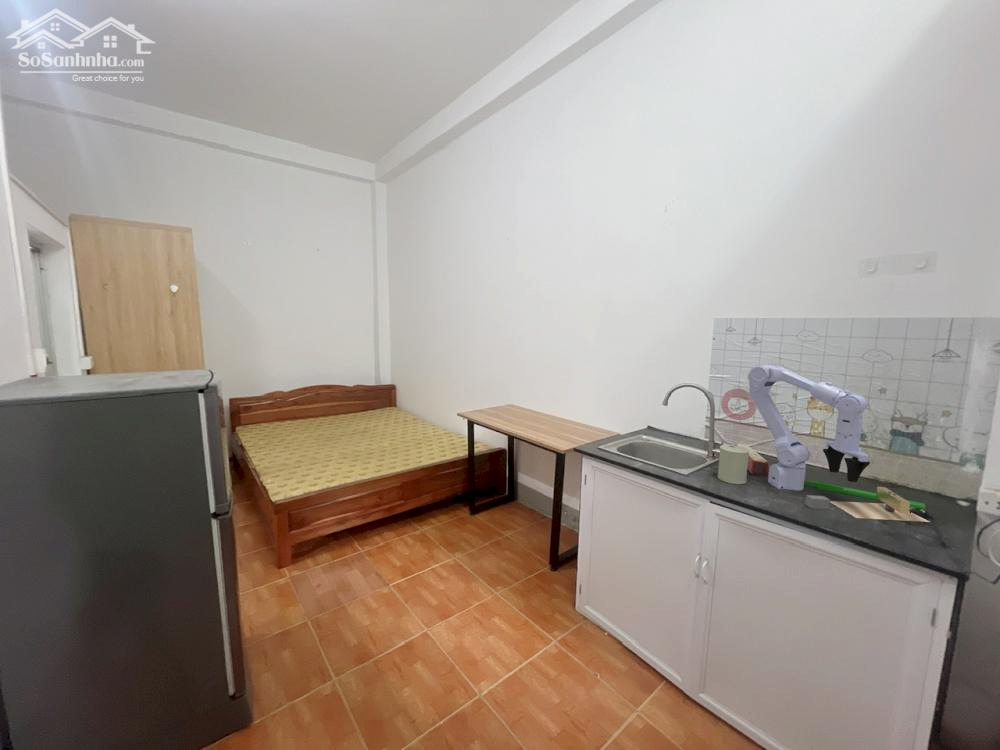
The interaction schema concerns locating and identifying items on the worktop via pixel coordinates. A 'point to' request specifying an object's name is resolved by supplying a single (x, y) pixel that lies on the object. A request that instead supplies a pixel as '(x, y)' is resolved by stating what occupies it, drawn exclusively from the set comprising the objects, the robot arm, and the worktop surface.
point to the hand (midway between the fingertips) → (842, 476)
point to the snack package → (756, 462)
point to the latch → (893, 500)
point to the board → (875, 511)
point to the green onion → (853, 492)
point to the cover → (817, 502)
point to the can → (733, 464)
